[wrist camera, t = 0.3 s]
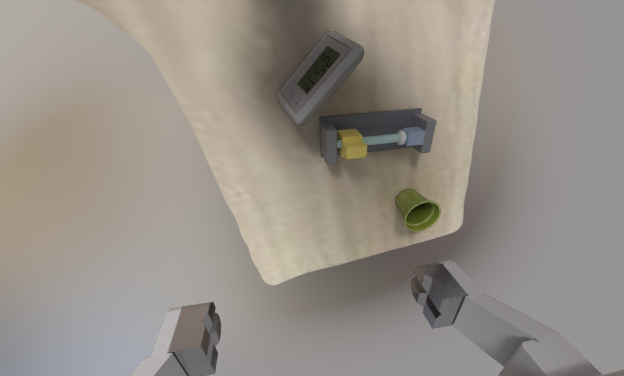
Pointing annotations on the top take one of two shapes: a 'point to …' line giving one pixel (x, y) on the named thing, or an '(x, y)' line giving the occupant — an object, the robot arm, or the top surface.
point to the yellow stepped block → (351, 144)
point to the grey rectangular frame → (379, 131)
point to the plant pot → (417, 210)
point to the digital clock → (319, 76)
